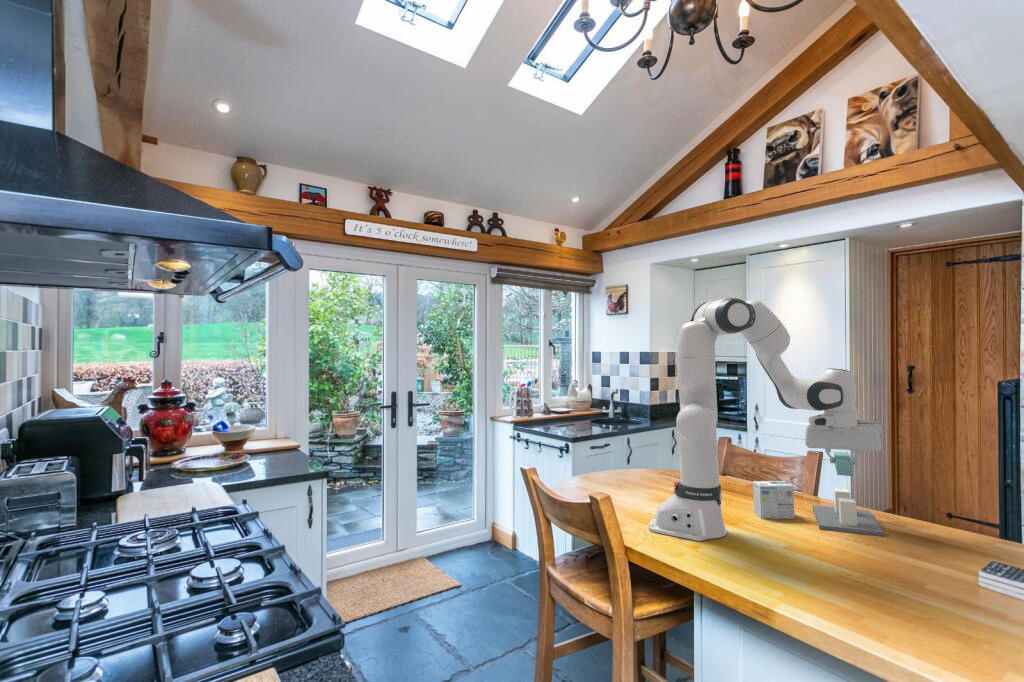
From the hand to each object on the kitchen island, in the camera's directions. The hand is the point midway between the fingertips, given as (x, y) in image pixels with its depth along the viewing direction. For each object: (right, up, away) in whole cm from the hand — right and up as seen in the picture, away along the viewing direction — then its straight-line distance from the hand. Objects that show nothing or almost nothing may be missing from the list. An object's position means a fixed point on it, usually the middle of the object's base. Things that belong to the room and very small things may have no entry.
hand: (843, 463), depth 158 cm
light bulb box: (-18, -19, +7) cm, 27 cm away
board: (0, -18, -1) cm, 18 cm away
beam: (0, -2, 0) cm, 2 cm away
